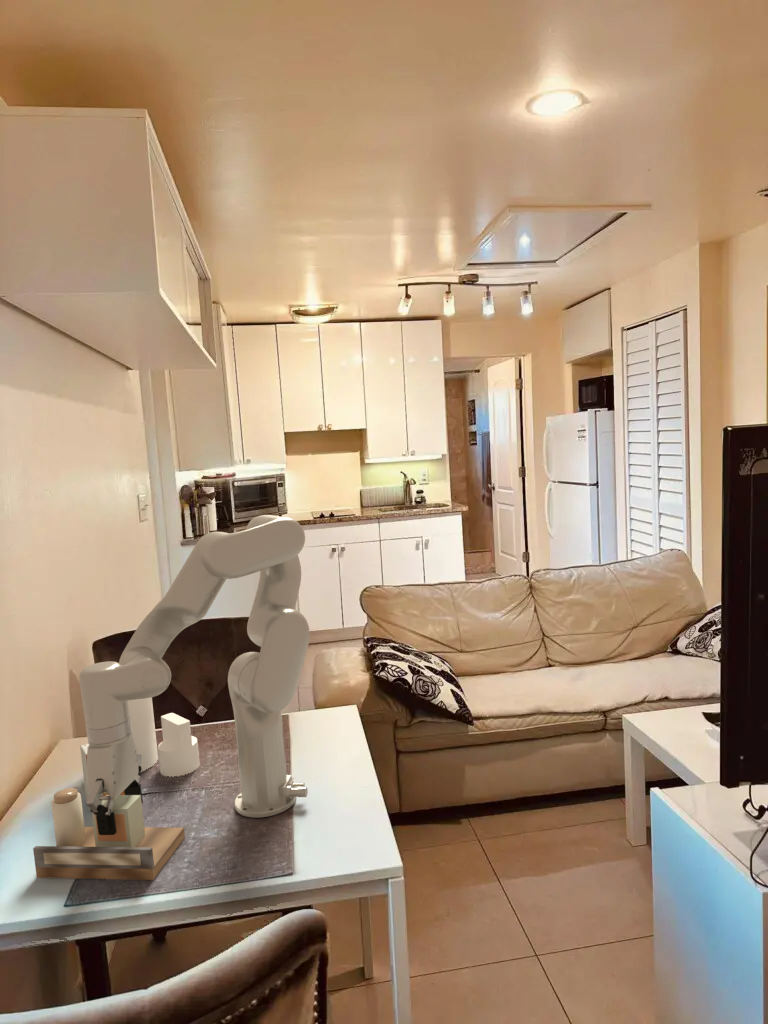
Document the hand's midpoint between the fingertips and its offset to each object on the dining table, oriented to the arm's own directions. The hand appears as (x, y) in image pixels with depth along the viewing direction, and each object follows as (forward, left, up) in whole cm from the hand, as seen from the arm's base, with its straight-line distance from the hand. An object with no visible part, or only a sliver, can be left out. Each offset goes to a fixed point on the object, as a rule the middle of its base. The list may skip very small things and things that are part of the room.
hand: (121, 818), depth 127 cm
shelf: (+2, +1, -7) cm, 7 cm away
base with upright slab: (+5, -34, -7) cm, 35 cm away
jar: (+10, +1, -5) cm, 11 cm away
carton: (+1, 0, -5) cm, 5 cm away
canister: (+19, -36, -7) cm, 41 cm away
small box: (+14, -18, -7) cm, 24 cm away
